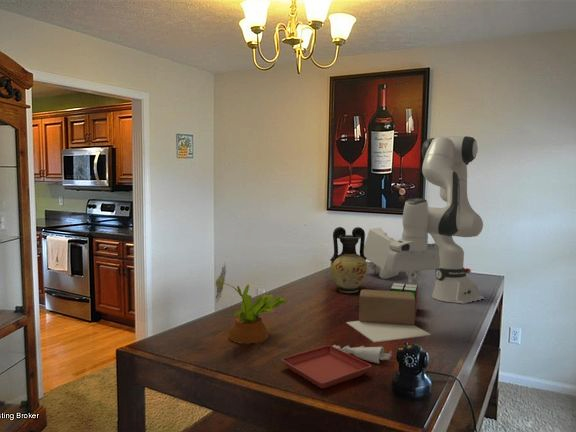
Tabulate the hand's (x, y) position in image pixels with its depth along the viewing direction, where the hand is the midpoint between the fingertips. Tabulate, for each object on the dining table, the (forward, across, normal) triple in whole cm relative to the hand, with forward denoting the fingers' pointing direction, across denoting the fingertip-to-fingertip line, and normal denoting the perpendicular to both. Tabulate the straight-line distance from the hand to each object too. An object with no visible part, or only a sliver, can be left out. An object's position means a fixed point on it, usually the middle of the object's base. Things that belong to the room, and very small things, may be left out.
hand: (413, 282), depth 162 cm
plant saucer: (+17, +45, +25) cm, 54 cm away
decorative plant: (+16, +58, -6) cm, 61 cm away
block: (+11, -3, -3) cm, 12 cm away
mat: (+16, +10, 0) cm, 19 cm away
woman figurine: (+17, +31, +19) cm, 40 cm away
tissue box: (+16, -34, -73) cm, 82 cm away
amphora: (+16, -1, -52) cm, 55 cm away
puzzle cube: (+16, -8, -17) cm, 25 cm away
